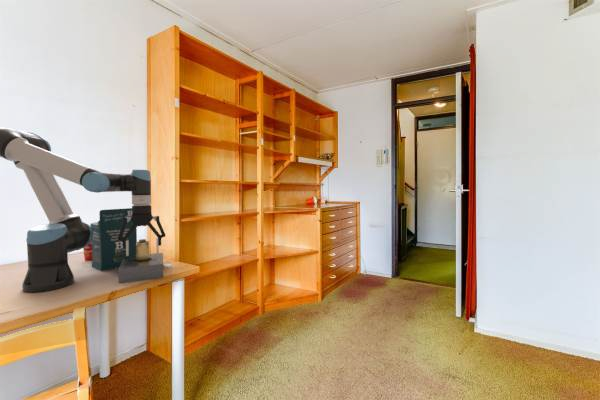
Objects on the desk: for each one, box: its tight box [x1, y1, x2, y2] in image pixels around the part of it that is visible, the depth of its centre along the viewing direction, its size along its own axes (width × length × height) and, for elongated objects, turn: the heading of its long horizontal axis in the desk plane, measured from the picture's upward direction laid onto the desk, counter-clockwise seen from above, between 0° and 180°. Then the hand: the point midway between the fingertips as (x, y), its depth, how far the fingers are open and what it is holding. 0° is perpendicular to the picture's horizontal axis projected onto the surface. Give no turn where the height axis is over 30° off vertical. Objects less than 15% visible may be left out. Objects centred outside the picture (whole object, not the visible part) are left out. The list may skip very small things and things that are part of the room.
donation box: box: [89, 207, 138, 272], centre depth 142 cm, size 16×16×28 cm
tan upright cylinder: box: [136, 238, 150, 262], centre depth 129 cm, size 5×5×13 cm
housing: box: [118, 252, 164, 284], centre depth 129 cm, size 16×22×6 cm
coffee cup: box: [82, 240, 92, 262], centre depth 153 cm, size 8×8×15 cm
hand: (142, 254), depth 129 cm, fingers open, 11 cm apart
